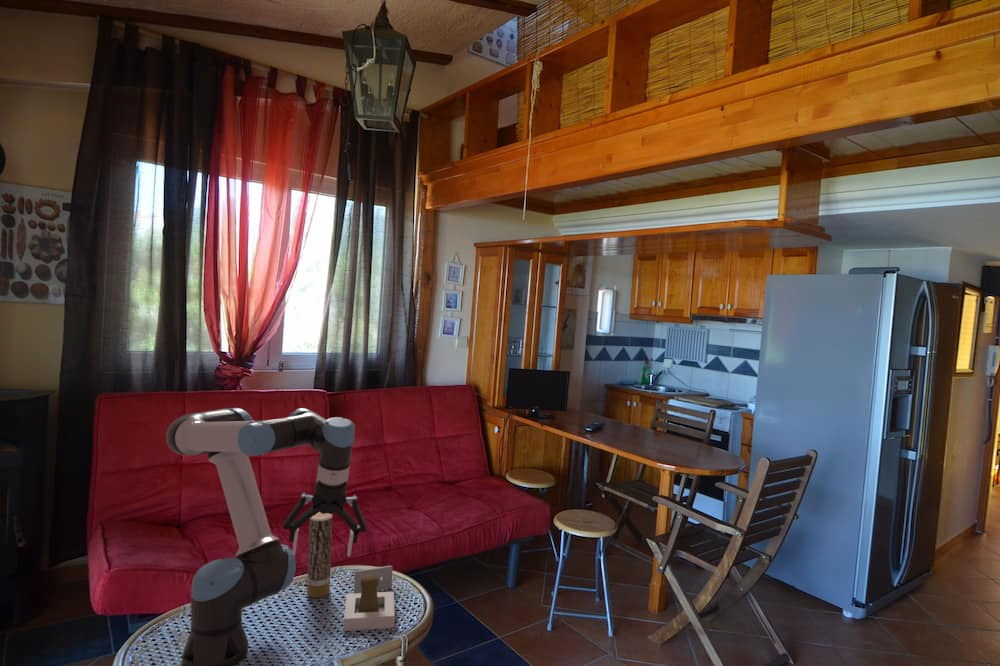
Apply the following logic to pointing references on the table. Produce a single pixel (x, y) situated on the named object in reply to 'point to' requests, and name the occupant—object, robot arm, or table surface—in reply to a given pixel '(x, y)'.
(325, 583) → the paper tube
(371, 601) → the cork
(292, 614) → the table surface
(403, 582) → the table surface
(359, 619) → the socket block
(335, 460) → the robot arm
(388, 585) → the cassette
